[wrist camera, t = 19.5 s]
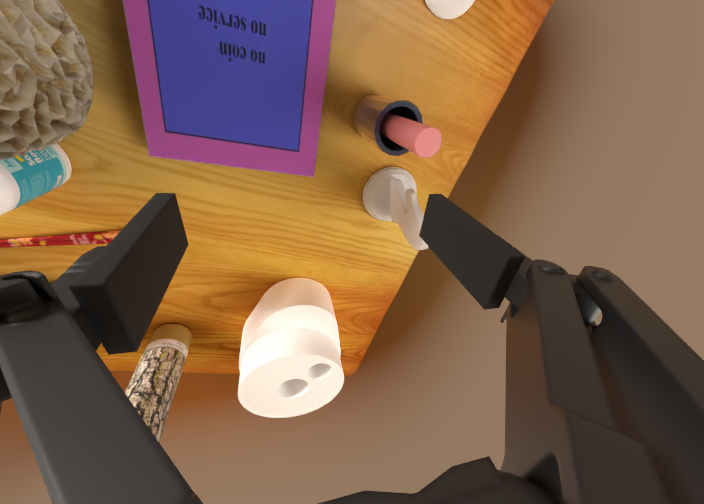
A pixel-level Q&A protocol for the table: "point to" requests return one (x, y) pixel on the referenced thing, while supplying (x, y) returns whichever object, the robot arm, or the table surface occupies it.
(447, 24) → the table surface
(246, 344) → the container
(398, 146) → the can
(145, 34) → the book
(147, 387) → the bark covered wood stump
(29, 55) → the coral
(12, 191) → the pill bottle
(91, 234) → the chopstick
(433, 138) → the pink long cylinder
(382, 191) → the chess piece
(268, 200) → the table surface
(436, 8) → the wineglass
